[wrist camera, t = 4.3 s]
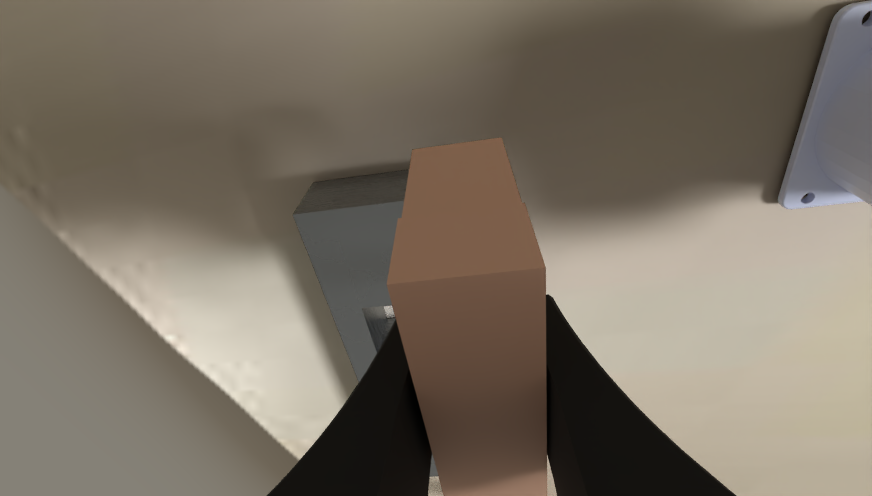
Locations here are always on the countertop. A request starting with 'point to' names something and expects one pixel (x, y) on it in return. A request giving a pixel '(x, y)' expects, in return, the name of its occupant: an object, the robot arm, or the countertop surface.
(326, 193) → the gray slotted board
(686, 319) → the countertop surface
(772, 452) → the countertop surface
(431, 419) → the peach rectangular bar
